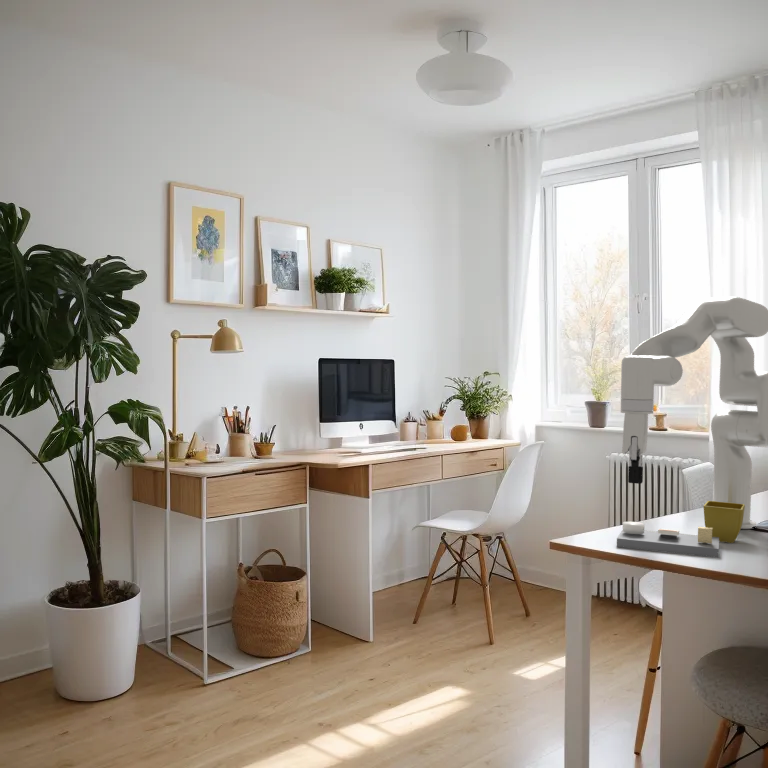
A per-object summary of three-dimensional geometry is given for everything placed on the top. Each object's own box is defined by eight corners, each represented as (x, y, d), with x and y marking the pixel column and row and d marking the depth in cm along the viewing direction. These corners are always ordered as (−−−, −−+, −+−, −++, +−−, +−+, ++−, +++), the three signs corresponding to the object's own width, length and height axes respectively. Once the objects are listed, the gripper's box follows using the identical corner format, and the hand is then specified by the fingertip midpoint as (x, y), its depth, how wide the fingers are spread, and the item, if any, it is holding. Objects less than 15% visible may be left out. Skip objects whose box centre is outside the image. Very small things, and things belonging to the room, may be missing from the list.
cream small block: (697, 540, 179) (698, 526, 179) (711, 541, 178) (712, 527, 178) (697, 541, 177) (698, 528, 177) (711, 543, 176) (712, 529, 176)
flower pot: (741, 546, 185) (742, 509, 185) (702, 541, 189) (703, 505, 189) (744, 539, 193) (745, 504, 193) (706, 535, 197) (707, 500, 197)
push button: (623, 529, 190) (624, 520, 190) (645, 531, 188) (645, 522, 188) (621, 532, 185) (621, 524, 185) (643, 534, 183) (643, 526, 183)
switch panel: (623, 535, 194) (623, 525, 194) (718, 545, 185) (719, 534, 185) (616, 546, 181) (616, 535, 181) (718, 557, 172) (719, 546, 172)
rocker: (659, 531, 187) (659, 528, 187) (679, 533, 185) (679, 530, 185) (657, 533, 181) (658, 529, 181) (677, 535, 179) (678, 531, 180)
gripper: (624, 405, 194) (622, 478, 195) (617, 407, 181) (615, 485, 181) (655, 406, 191) (654, 480, 192) (650, 408, 178) (649, 488, 178)
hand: (635, 482), depth 186 cm, fingers closed
